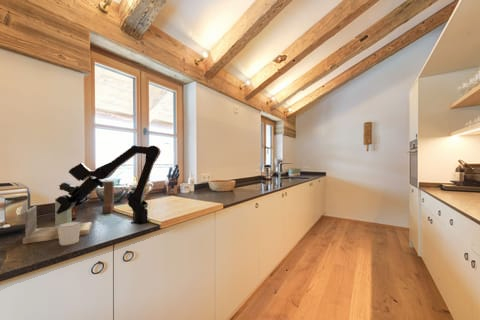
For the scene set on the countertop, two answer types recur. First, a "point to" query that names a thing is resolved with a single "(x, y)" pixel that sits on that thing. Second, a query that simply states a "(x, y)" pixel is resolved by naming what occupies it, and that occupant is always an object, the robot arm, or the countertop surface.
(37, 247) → the countertop surface
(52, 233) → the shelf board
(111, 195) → the wooden block
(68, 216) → the sage block
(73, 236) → the white cup
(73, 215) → the tin
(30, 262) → the countertop surface
